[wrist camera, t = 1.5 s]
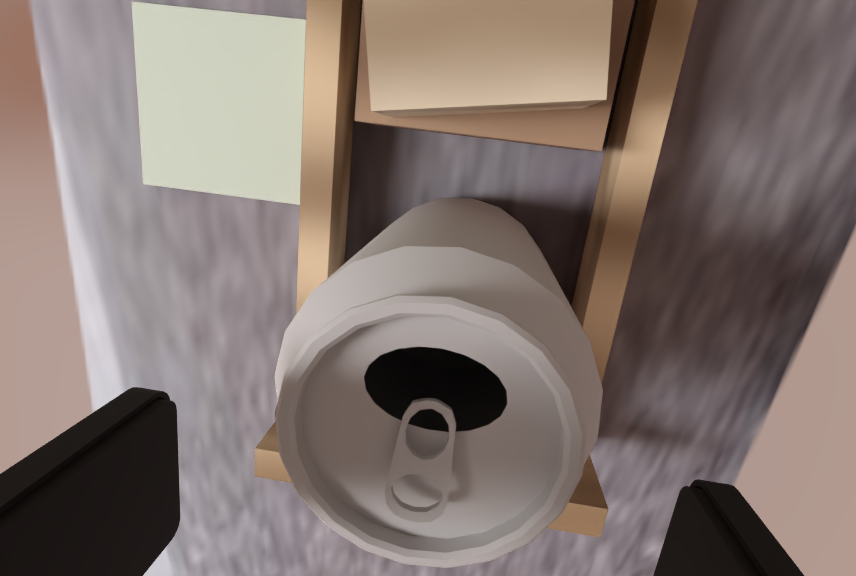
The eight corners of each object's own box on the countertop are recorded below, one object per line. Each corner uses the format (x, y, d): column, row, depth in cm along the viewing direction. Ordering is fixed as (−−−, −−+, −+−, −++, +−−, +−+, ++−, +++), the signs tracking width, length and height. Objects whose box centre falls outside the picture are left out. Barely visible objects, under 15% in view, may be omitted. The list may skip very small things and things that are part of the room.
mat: (136, 3, 19) (131, 1, 19) (308, 21, 18) (305, 19, 18) (147, 183, 21) (143, 183, 21) (302, 203, 20) (299, 204, 20)
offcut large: (393, -45, 18) (369, -98, 14) (613, -24, 17) (650, -72, 13) (379, 125, 19) (354, 120, 16) (577, 149, 19) (601, 150, 15)
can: (563, 210, 19) (679, 306, 8) (524, 374, 22) (570, 634, 10) (382, 181, 20) (244, 230, 8) (363, 344, 22) (233, 560, 11)
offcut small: (381, -63, 14) (355, -116, 11) (591, -82, 13) (622, -144, 10) (391, 117, 15) (371, 111, 13) (582, 108, 15) (606, 99, 12)
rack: (336, -138, 17) (260, -286, 11) (699, -110, 16) (822, -254, 10) (311, 394, 23) (254, 476, 17) (570, 436, 22) (600, 537, 16)
